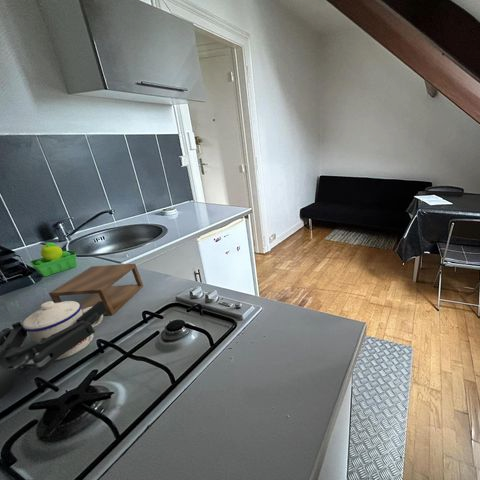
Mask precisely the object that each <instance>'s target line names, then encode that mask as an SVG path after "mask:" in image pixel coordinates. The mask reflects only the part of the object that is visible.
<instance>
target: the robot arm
mask: <svg viewBox="0 0 480 480" xmlns="http://www.w3.org/2000/svg"><path fill="white" fill-rule="evenodd" d="M106 311H107V310H106V308H105V306H104V303H103V301H99V302H98V303H97V304H95V305H94V306H93V307H92V308H90V309H89V310H88V311H87V312H86V313H84V314H83V315H82V316H81V317H79V318H78V319H77V320H76V321H77V323H75V324H73V325H71V326H69V327H67V328H65V329H63V330H61V331H59V332H57V333H56V334H54V335H52V336H50V337H48V338H46V339H44V340H42V341H39V342H38V341H35V342H33V341H32V342H30V343H28V344H27V345H24V346H22V345H23V343H24V342H25V340H26V338H27V336H29V334H28V332H27V331H25V330H24V329H23V324H22V323H21V322H20V321H17V322H14V323H12V324H11V326H12V328H10V327H5V328H4V329H2V330H1V331H0V400H1V399H2V398H4V397H5V396H6V395H8V393H9V392H10V391H12V390H13V388H14V387H15V383H16V381H17V380H16V379H17V378H18V377H19V376H20V375H22V374H23V373H25V372H27V371H29V370H30V369H31V368H37V369H38V370H39V371H43V370H45V369H48V367H49V366H51V364H52V363H53V362H54V361H57V360H56V359H57V358H58V357H60V356H61V355H63V354H64V353H66V352H67V351H69V350H70V349H71V348H73V347H74V346H76V345H77V344H79V343H80V342H82V341H83V340H84V339H86V338H87V337H89V336H90V335H92V334H93V335H94V334H95V330H94V327H92V324H93V323H94V322H96V321H97V320H98V319H99V317H100V316H101V315H102V314H104V313H105V312H106ZM34 349H35V350H36V352H37V353H36V352H35V351H34Z"/></svg>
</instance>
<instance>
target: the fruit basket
mask: <svg viewBox="0 0 480 480" xmlns="http://www.w3.org/2000/svg"><path fill="white" fill-rule="evenodd" d="M40 256H41V257H40V258H37V259H33V260H30V261H29V264H30V265H31V266H32V267H33V268H34V269H35V270H37V272H38V273H39V274H40V275H42V277H43V278H45V277H49V276H51V275H54V274H58V273H60V272H64V271H67V270H69V269H73V268H75V267H77V253H76V252H75V251H73V250H72V249H69V250H64V251H63V249H62V248H61V247H60V246H58V245H57V244H55V243H54V242H47V243H45V245H43V246H42V247H41V250H40Z"/></svg>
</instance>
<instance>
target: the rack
mask: <svg viewBox="0 0 480 480" xmlns="http://www.w3.org/2000/svg"><path fill="white" fill-rule="evenodd" d="M130 272H132V274H133V277H134V279H135V282H136V284H124V285H123V284H121V285H114V284H116V283H117V282H118V281H120V280H121V279H122V278H124V276H126V275H127V274H129V273H130ZM143 287H144V284H143V281H142V278H141V275H140V273H139V270H138V268H137V265H136V263H122V264H109V265H108V264H107V265H94V266H93V265H92V266H90V267H88V268H87V269H85V270H83V271H82V272H80V273H78V274H77V275H75V276H74V277H72V278H71V279H69V280H68V281H66V282H65V283H63V284H61V285H60V286H58V287H56V288H54V289H52V290H51V291H49V292H48V295H49V297H50V298H51V301H52V302H54V303H60V302H63V301H62V300H61V296H74V295H75V296H78V295H88V296H87V297H85V298H84V299H83V300H81V301H79V302H78V303H79V304H80V305H81V310H83V309H85V308H88V307H93V306H94V305H95V304H97V303H98V302H99V301H103V303H104V306H105V308H106V310H107V311H106V312H105V313H104V314H103V317H107V316H114V315H115V314H116V313H117V312H118V311H119V310H120V309H121V308H123V306H124V305H126V303H127V302H128V301H130V299H131V298H132V297H134V296H135V295H136V294H137V293H138V292H139V291H140V290H141V289H142V288H143Z"/></svg>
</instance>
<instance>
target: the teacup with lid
mask: <svg viewBox="0 0 480 480" xmlns="http://www.w3.org/2000/svg"><path fill="white" fill-rule="evenodd" d="M79 303H80V302H77V301H75V300H65V301H62V302H60V303H54V302H53V300H49V301H44V302H43V303H42V304H41V305H40V308H39V309H38V310H36V311H35V312H33V313H31V314H30V315H29V316H27V317H26V318H25V319H24V321H23V323H22V325H23V329H24V330H25V331H27V334H28V336H29V338H30V339H31V340H32V343H33V342H35V341H38V342H39V341H42V340H44V339H46V338H48V337H50V336H52V335H54V334H56V333H57V332H59V331H61V330H63V329H65V328H67V327H69V326H71V325H73V324H75V323H77V321H76V320H77V319H78V318H79V317H81V316H82V315H83V314H84V313H86V312H87V311H88V310H89V309H90V308H92V307H88V308H85V309H83V310H81V305H80V304H79ZM103 319H104V316H103V314H102V315H101V316H100V317H99V319H98V320H97V321H96V322H94V323H93V324H92V327H93V328H95V327H97V326H98V325H100V324H101V322H102V321H103ZM94 337H95V336H94V333H93V334H92V335H90V336H89V337H87V338H86V339H84V340H83V341H82V342H80V343H79V344H77V345H76V346H74V347H73V348H71V349H70V350H69V351H67V352H66V353H64V354H63V355H61V356H60V357H58V358H57V359H56V360H55V361H60V360H64V359H66V358H69V357H71V356H74V355H75V354H77V353H79V352H82V350H84V349H85V348H86V347H88V345H90V344H91V342H92V341H93V339H94Z"/></svg>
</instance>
